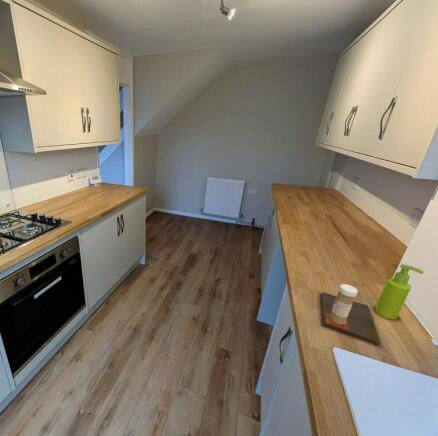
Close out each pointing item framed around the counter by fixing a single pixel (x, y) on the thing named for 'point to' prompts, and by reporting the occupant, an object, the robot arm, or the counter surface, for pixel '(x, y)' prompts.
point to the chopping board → (351, 320)
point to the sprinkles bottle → (343, 304)
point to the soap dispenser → (395, 293)
